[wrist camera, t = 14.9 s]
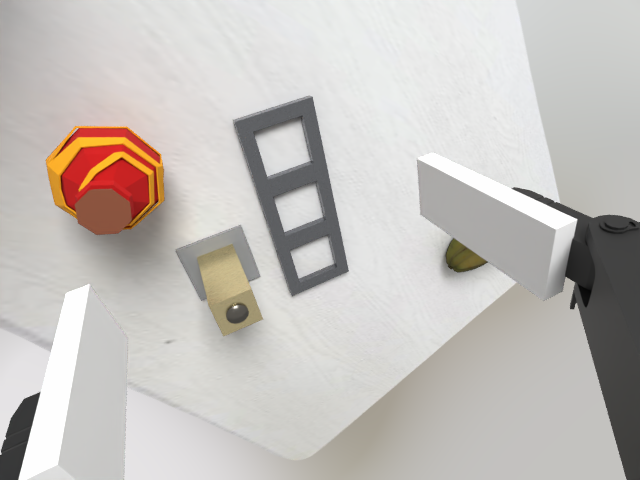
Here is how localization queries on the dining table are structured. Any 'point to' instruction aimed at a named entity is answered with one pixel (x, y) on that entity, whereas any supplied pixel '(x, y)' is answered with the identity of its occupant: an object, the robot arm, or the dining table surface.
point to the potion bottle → (106, 178)
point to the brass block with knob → (228, 290)
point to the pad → (213, 243)
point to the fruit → (462, 257)
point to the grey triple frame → (292, 180)
